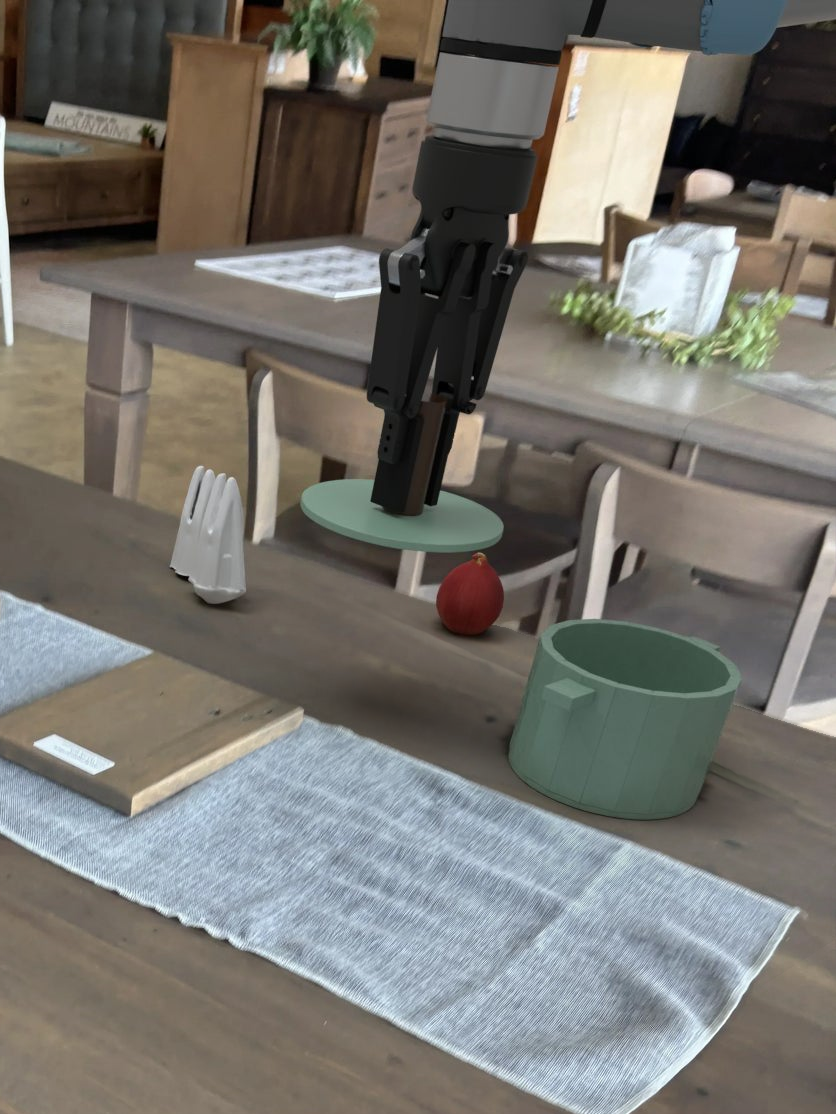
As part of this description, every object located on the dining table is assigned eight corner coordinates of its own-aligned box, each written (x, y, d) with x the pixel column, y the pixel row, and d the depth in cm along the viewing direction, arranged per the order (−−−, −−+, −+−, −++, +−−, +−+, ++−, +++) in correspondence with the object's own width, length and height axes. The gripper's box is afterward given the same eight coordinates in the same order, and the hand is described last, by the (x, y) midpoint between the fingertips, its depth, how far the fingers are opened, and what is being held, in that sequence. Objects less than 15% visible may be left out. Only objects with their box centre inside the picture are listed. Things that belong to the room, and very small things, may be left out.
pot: (750, 782, 108) (795, 665, 103) (608, 848, 97) (651, 722, 92) (595, 712, 116) (630, 601, 111) (448, 766, 105) (479, 645, 100)
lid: (540, 543, 105) (575, 415, 100) (411, 573, 96) (442, 435, 91) (387, 485, 114) (412, 364, 109) (257, 508, 105) (277, 378, 100)
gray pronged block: (244, 613, 127) (263, 489, 121) (200, 613, 126) (217, 488, 120) (209, 566, 137) (225, 449, 131) (167, 566, 136) (181, 448, 130)
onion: (437, 622, 130) (457, 536, 126) (498, 637, 128) (521, 551, 124) (420, 641, 126) (441, 553, 121) (483, 657, 124) (506, 568, 120)
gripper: (509, 133, 98) (432, 476, 111) (355, 126, 89) (292, 501, 102) (601, 149, 93) (510, 505, 107) (449, 143, 84) (370, 533, 97)
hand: (403, 502), depth 104 cm, fingers closed on lid, 3 cm apart
